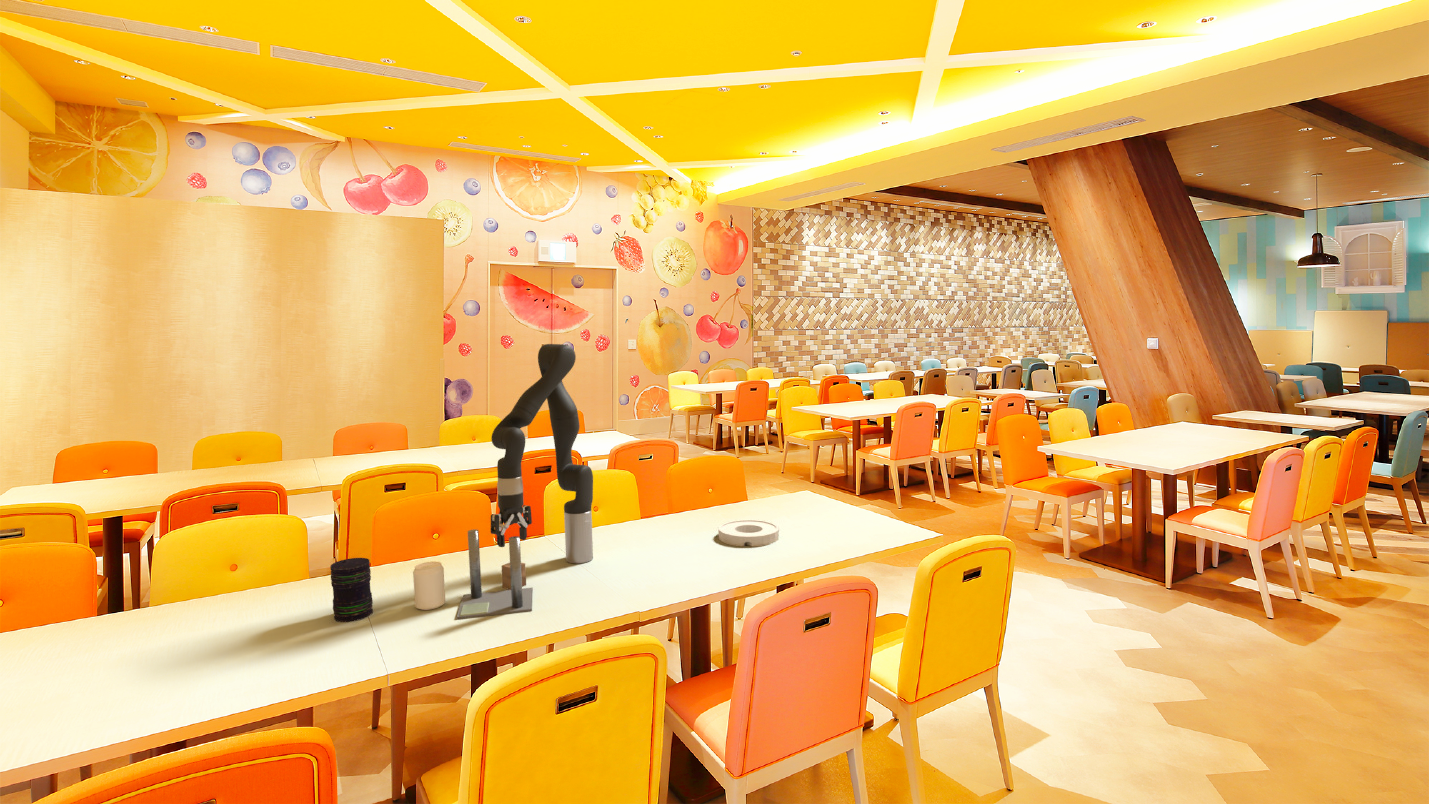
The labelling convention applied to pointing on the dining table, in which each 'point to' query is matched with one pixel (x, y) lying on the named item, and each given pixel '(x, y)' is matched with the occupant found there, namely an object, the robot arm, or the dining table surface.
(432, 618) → the dining table surface
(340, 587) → the black cylinder
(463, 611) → the pad
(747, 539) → the ashtray
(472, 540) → the post
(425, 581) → the beverage can
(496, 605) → the mat
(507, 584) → the walnut block
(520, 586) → the post
